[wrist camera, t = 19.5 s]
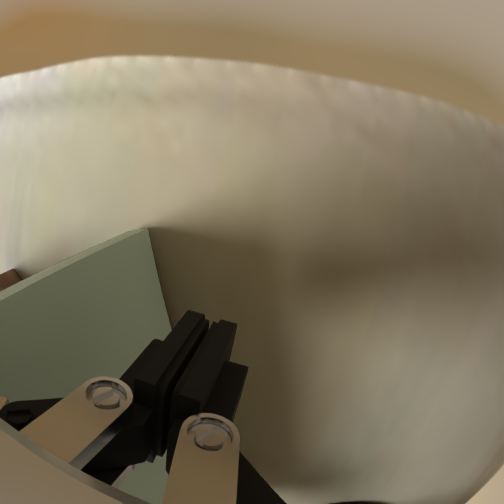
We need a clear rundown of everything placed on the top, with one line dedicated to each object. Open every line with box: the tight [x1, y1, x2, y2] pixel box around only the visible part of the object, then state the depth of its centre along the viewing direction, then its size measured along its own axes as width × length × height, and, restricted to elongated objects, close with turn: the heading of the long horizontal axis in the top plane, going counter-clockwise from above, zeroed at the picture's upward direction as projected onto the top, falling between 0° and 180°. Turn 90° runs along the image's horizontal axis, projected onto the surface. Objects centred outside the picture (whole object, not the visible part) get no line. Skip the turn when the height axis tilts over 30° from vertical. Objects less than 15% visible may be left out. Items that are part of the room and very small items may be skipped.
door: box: [0, 228, 172, 504], centre depth 13 cm, size 19×3×12 cm, turn 9°
